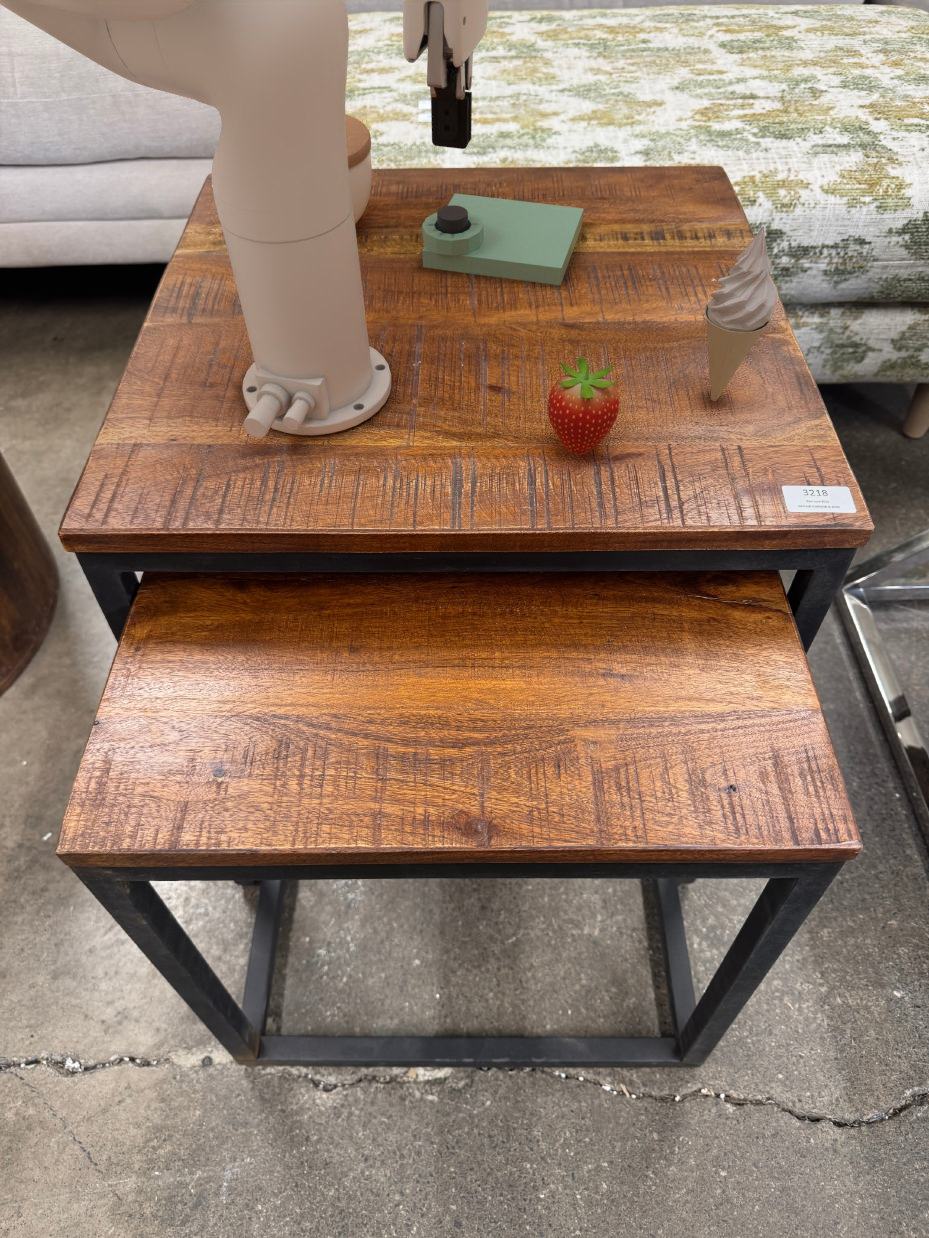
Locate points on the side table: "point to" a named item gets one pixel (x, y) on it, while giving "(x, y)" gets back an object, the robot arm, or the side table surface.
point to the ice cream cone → (739, 313)
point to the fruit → (582, 407)
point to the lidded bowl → (358, 164)
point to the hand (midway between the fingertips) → (451, 143)
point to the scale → (505, 239)
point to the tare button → (452, 219)
